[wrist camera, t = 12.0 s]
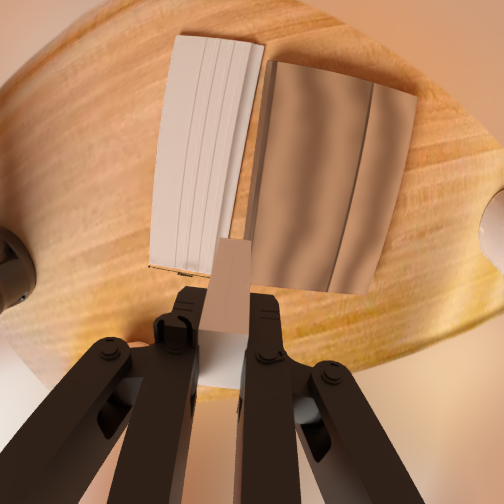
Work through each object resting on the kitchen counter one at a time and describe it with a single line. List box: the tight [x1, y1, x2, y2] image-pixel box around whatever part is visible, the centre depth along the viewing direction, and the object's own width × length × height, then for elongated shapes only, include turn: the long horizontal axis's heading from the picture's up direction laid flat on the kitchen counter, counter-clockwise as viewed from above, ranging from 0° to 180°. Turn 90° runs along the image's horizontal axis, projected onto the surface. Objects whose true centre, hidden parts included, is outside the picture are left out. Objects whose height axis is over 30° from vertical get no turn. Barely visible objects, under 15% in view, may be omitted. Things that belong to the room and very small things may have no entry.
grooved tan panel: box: [244, 60, 418, 295], centre depth 36 cm, size 18×28×3 cm, turn 173°
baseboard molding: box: [148, 35, 264, 278], centre depth 36 cm, size 31×3×12 cm
